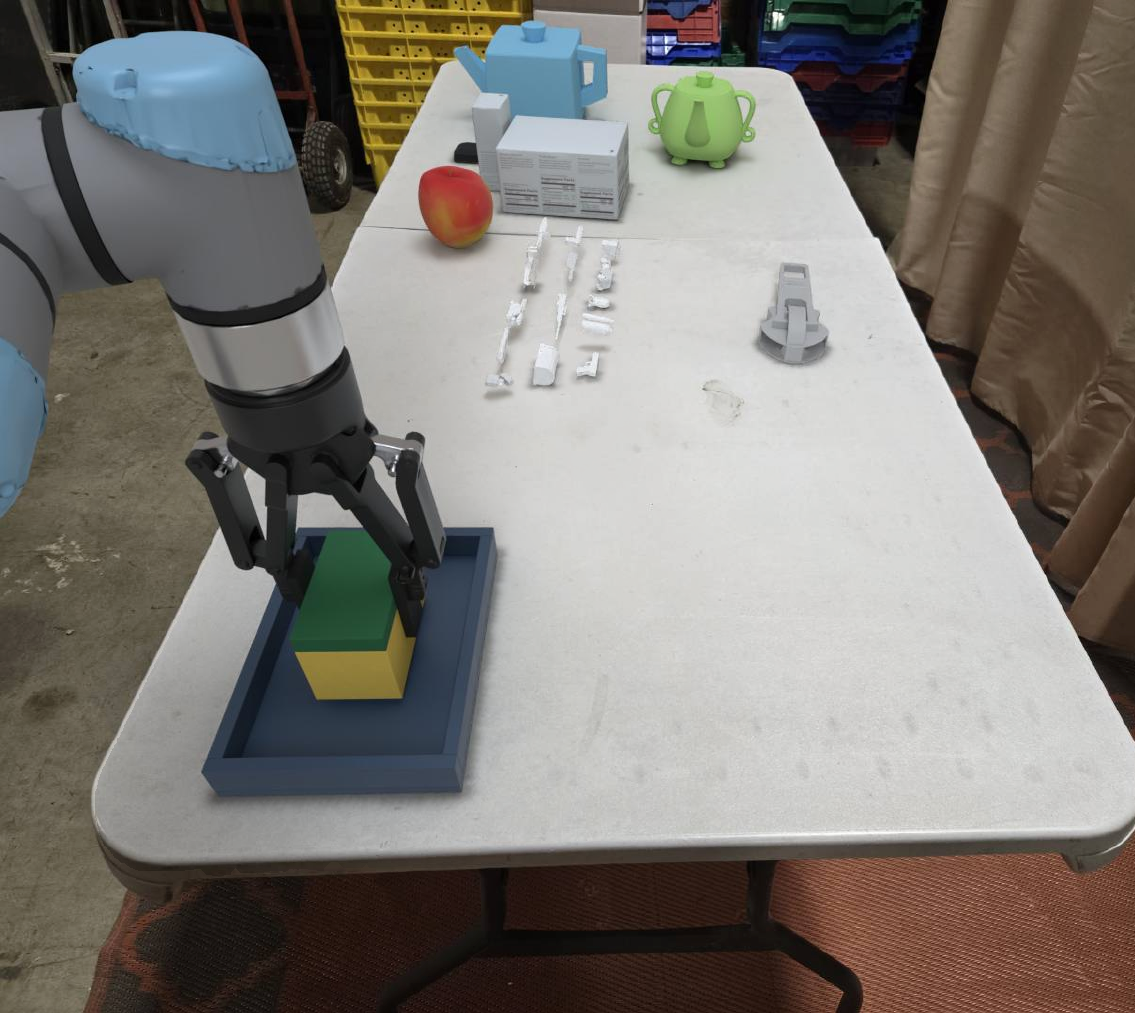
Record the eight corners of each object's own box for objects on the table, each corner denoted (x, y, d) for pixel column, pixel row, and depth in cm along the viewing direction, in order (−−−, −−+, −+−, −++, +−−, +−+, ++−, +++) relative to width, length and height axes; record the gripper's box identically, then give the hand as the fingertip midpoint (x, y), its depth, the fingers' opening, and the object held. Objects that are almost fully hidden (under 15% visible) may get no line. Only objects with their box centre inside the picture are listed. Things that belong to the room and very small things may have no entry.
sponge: (402, 698, 60) (382, 638, 55) (316, 699, 60) (288, 639, 55) (426, 591, 67) (410, 529, 62) (350, 591, 67) (328, 530, 62)
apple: (484, 263, 109) (475, 188, 102) (413, 256, 110) (399, 180, 103) (504, 230, 116) (497, 157, 109) (437, 224, 117) (425, 151, 110)
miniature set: (533, 236, 113) (622, 253, 115) (484, 405, 89) (598, 424, 91) (536, 191, 108) (630, 210, 110) (486, 358, 85) (605, 379, 86)
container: (603, 144, 140) (601, 42, 129) (453, 136, 140) (438, 33, 129) (611, 108, 152) (610, 12, 142) (472, 101, 152) (461, 4, 141)
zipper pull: (821, 288, 108) (827, 257, 105) (827, 366, 95) (833, 333, 92) (760, 283, 109) (764, 252, 106) (757, 360, 96) (762, 327, 93)
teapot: (766, 168, 136) (776, 84, 127) (692, 184, 130) (697, 97, 121) (711, 134, 145) (717, 54, 137) (640, 147, 140) (641, 64, 131)
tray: (461, 792, 57) (454, 767, 54) (217, 797, 56) (200, 772, 54) (497, 553, 73) (493, 526, 70) (308, 554, 72) (297, 527, 69)
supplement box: (629, 184, 129) (630, 120, 122) (618, 222, 119) (618, 155, 113) (520, 175, 129) (515, 112, 123) (500, 213, 120) (493, 146, 113)
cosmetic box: (489, 174, 129) (480, 91, 121) (517, 176, 129) (509, 93, 121) (480, 190, 125) (470, 106, 117) (509, 192, 125) (500, 108, 117)
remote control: (552, 159, 136) (459, 149, 136) (552, 147, 135) (458, 138, 134) (547, 171, 132) (452, 161, 132) (547, 159, 131) (451, 150, 131)
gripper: (461, 323, 49) (503, 583, 65) (125, 319, 48) (252, 585, 64) (440, 401, 44) (492, 664, 60) (61, 399, 43) (217, 666, 59)
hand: (368, 622), depth 62 cm, fingers closed on sponge, 6 cm apart
